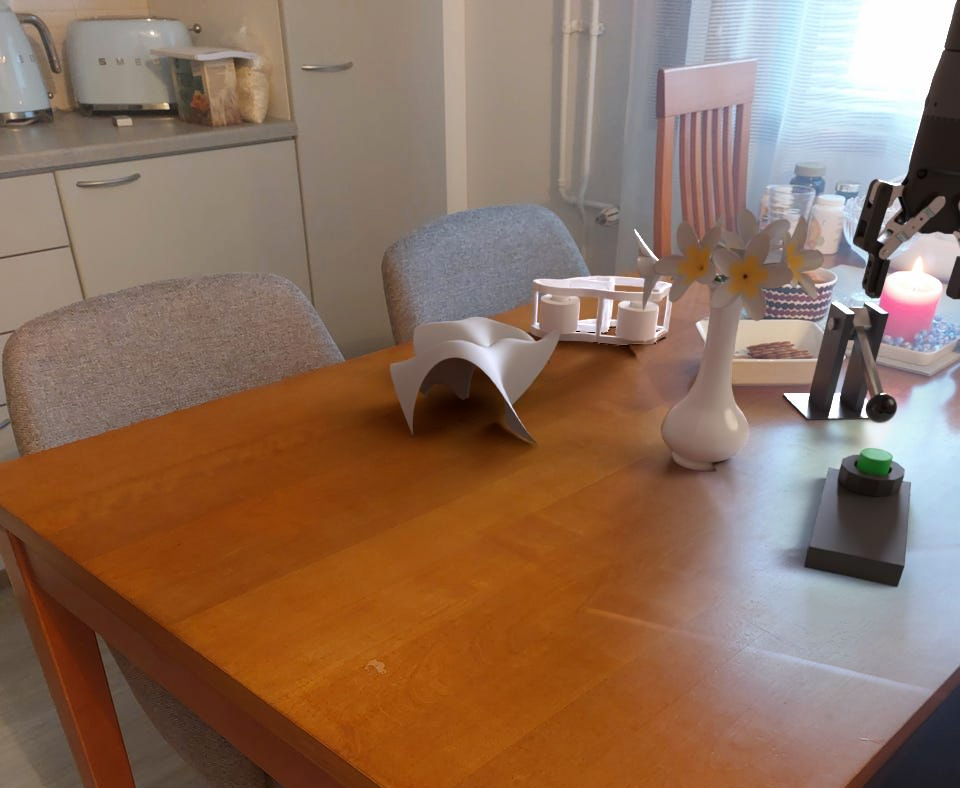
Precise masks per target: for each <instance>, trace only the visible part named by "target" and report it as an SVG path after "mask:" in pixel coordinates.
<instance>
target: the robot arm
mask: <svg viewBox="0 0 960 788" xmlns="http://www.w3.org/2000/svg"><path fill="white" fill-rule="evenodd" d="M907 168H908V169H907V173H906V175H905V176H904V179H903V180H902V181H901V183H893V182H887V181H885V180H883V179H882V180H881V179H880V178H874V179H873V180H872V181H871V182H870V183H869V186H868V188H867V192H866V195H865V199H864V202H863V205H862V209H861V212H860V215H859V219H858V222H857V225H856V228H855V232H854V235H853V238H852V244H853V245H854V246H855V247H857V248H859V249H860V250H862V251H864V252H866V253H867V254H868V258H867V262H866V266H865V270H864V273H863V278H862V281H861V288H862V289H863V290H864V294H865V295H866V296H867V297H869V299H880V298H881V296H882V293H883V290H884V288H885V287H884V286H885V283H886V279H887V275H888V273H889V269H890V265H891V260H892V259H890V258H889V257H891V256H892V254H894V252H895V251H896V250H898V248H899V247H900V246H901V245H903V244H904V243H905V242H906V243H907V242H908V241H909V240H911V239H912V238H913V237H914V236H915V235H916V233H919V234H921V235H930V234H931V235H932V234H934V233H941V234H944V235H953V236H954V238H955V240H956V242H957V245H958V247H959V249H960V0H955V1H954V4H953V7H952V11H951V14H950V18H949V22H948V25H947V30H946V33H945V36H944V41H943V45H942V49H941V52H940V55H939V57H938V60H937V63H936V66H935V67H934V70H933V73H932V76H931V78H930V82H929V85H928V89H927V93H926V96H925V97H924V100H923V107H922V111H921V114H920V119H919V122H918V126H917V129H916V133H915V137H914V140H913V145H912V148H911V152H910V156H909V160H908V167H907ZM896 199H897V200H898V202H899V204H900V207H901V208H899V210H897V211H896V213H895V214H894V215H893V216H892V217H891V218H890V219H888V221H887V222H886V223H885V225H884V229H882V226H883V222H884V220H885V217H886V213H887V210H888V209H889V208H891V207H892V206H893V205H894V203H895V200H896ZM881 229H882V231H881ZM945 295H946V297H949V298H950V299H952V300H960V255H957V256H956V257H955V261H954V264H953V267H952V269H951V273H950V277H949V280H948V283H947V286H946V290H945Z"/></svg>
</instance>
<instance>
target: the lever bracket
mask: <svg viewBox="0 0 960 788" xmlns="http://www.w3.org/2000/svg"><path fill="white" fill-rule="evenodd" d="M862 307H866V308H867V311H868V314H869V317H870V320H871V324H872V327H871V328H870V330H869V332H868V333H867V335H866V336H867V339H868V342H869V345H870V349H871V352H872V355H873V358H874V362H875V363H877V358H878V355H879V352H880V348H881V344H882V340H883V337H884V333H885V330H886V326H887V322H888V318H889V316H890V315H889V314H890V313H889V312H888V311H886V310H884V309H883V308H882V307H880V306H878V305H877V304H875V303H874V302H864V303H863V306H862ZM854 316H855V313H853V312H852V311H850V310H849V309H848V307H847V306H845V305H843V304H842V303H840V302H831V303H830V306H829V310H828V313H827V318H826V322H825V327H824V331H823V335H822V340H821V344H820V348H819V351H818V355H817V361H816V364H815V368H814V373H813V376H812V381H811V384H810V389H809V393H783V394H782V397H784V398H785V399H786V401H787V402H788V403H789V404H791V406H793V408H794V409H795V410H796V411H797V412H799V413H800V415H801V416H802V417H803V418H804V420H806V421H854V420H855V421H858V420H859V421H861V420H863V421H864V420H870V419H869V418H868V417H867V415H866V405H867V402H868V401H869V399H867V395H868V392H869V391H868V387H867V384H866V381H865V377H864V374H863V371H862V367H861V364H860V360H859V357H858V354H857V350H856V347H855V344H854V343H853V344H852V348H851V351H850V355H849V360H848V363H847V368H846V371H845V375H844V379H843V382H842V387H841V390H840V392H838V393H837V392H836V390H837V387H838V382H839V379H840V375H841V371H842V367H843V363H844V359H845V356H846V351H847V347H848V344H849V341H850V340H849V336H850V332H851V328H852V324H853V320H854Z"/></svg>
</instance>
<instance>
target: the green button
mask: <svg viewBox="0 0 960 788" xmlns="http://www.w3.org/2000/svg"><path fill="white" fill-rule="evenodd" d="M859 455H860V456H859V459H858V463H857V467H856V468H857V469H858V470H860V471H863V472H865V473H869V474H874V475H886V474H888V471H889V468H890V465H891V462H892V461H893V457H894V456H893V454H892V453H891V452H889V451H887V450H884V449H881V448H876V447H867V448H863V449H861V451H860V453H859Z"/></svg>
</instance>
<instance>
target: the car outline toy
mask: <svg viewBox="0 0 960 788" xmlns="http://www.w3.org/2000/svg"><path fill="white" fill-rule="evenodd" d="M644 281H645V279H643V278H641V277H632V276H618V275H617V276H616V275H591V276H577V277H575V276H574V277H570V278H561V279H559V278H557V279H555V278H535V279H533V280H532V300H531V316H530V317H531V318H530V325H529V333H530V334H531V335H533V336H535V337H537V338H540V339H542V338H543V337H544V336H545V335H547V334H548V333H550V332H552V331H555V330H560V332H561V333H560V338H559V340H558V341H562V342H586V343H587V342H588V343H593V342H598V343H597V344H600V343H610V344H611V343H612V344H633V343H653V342H656V340H657V338H658V337H660V336H661V335H663V334H665V333H667V332H668V333H669V328H670V320H671V314H672V306H673V302H670V301H669V291H670V288H671V286H672V284H673V283H670V282H666V281H660V280H658V282H657V283H656V285H655V287H654V288H653V290H652V292H651V294H650V297H649V299H648V301H647V304H646V306H645V309H644V311H643V305H642V304H643V302H642V301H643V291H621V290H615V287H616V286H624V287H625V286H626V287H635V288H636V287H637V288H644ZM539 293H540V294H544V295H542V296H541V297H540V301H539ZM580 297H583V298H594V299H598V300H597V309H596V310H597V311H596V318H588V319H582V320H581V319H580V309H581V298H580ZM665 297H666V302H665V303H666V304H665V311H664V318H663V324H662V326H661V325H658V318H659V311H660V310H659V309H660V306H659V305H658V304H657V303H655V302H661V301H663V298H665ZM614 301H620V302H618V303H617V313H616V319H612V317H613V316H612V315H613V308H614V307H613V306H614ZM539 303H540V304H539ZM538 304H539V320H538ZM537 320H538V321H537ZM610 326H616V328H615V332H614V334H615V335H608V334H601V332H603V333H604V332H608V333H609V331H610V328H609V327H610ZM608 330H609V331H608ZM656 330H660V331H658V332H656ZM576 331H580V332H576ZM588 332H595V333H588ZM656 343H657V342H656Z"/></svg>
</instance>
